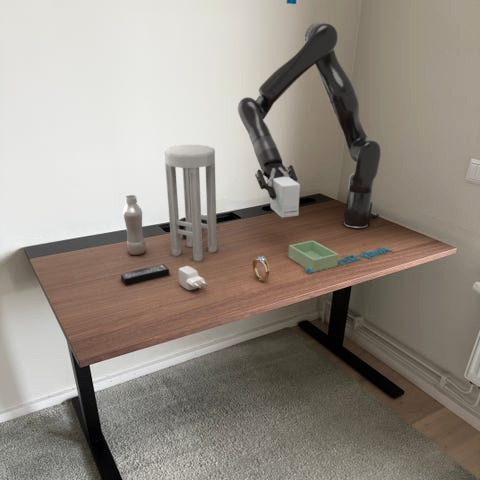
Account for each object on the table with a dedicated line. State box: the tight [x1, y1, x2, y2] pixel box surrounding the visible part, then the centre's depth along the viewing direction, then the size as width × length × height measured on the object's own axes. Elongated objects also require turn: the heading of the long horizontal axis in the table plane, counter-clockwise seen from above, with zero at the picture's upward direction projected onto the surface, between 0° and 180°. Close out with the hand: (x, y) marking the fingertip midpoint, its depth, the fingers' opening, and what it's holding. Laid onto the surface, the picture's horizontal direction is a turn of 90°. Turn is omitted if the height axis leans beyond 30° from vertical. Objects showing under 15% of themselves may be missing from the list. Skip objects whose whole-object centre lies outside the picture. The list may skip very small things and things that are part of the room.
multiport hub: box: [120, 263, 170, 286], centre depth 149 cm, size 4×14×2 cm, turn 121°
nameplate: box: [304, 247, 392, 275], centre depth 162 cm, size 37×1×5 cm
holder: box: [287, 240, 340, 273], centre depth 160 cm, size 10×14×4 cm
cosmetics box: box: [270, 176, 301, 218], centre depth 157 cm, size 10×6×10 cm, turn 18°
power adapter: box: [177, 265, 209, 291], centre depth 141 cm, size 11×5×6 cm, turn 39°
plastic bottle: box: [122, 194, 147, 255], centre depth 162 cm, size 6×7×20 cm
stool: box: [163, 144, 218, 262], centre depth 158 cm, size 16×16×35 cm
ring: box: [252, 255, 270, 282], centre depth 147 cm, size 7×3×8 cm, turn 31°
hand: (284, 196), depth 158 cm, fingers closed on cosmetics box, 7 cm apart
